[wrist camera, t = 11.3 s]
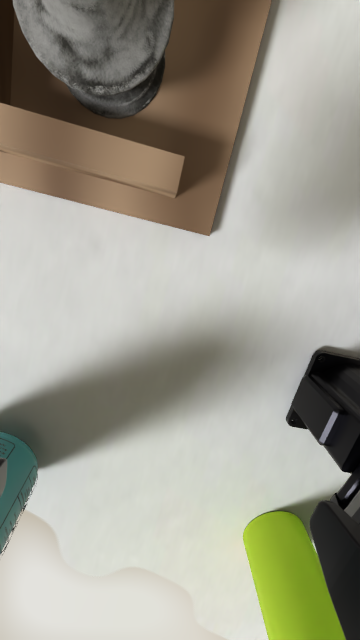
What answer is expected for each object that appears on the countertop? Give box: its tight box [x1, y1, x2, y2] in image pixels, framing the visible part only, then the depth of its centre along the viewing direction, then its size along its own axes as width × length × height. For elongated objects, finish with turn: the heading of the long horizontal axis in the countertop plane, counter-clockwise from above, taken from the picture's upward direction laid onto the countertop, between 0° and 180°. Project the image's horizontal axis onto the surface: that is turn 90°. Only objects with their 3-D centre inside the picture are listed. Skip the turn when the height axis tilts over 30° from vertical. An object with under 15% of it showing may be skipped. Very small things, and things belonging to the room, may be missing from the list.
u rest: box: [0, 0, 272, 236], centre depth 12 cm, size 16×14×4 cm
